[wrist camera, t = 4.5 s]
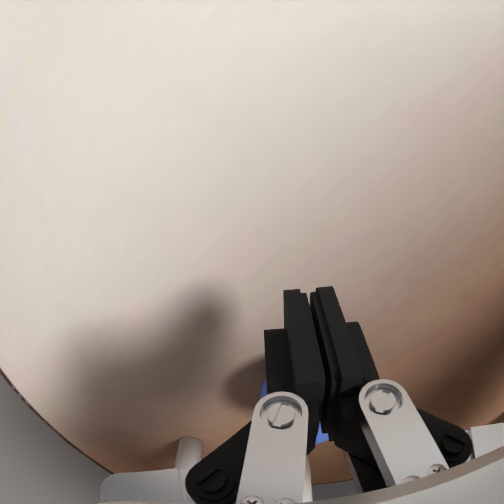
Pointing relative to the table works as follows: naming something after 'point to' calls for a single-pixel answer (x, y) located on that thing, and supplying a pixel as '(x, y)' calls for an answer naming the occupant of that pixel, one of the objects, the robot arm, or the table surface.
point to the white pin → (307, 482)
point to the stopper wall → (333, 490)
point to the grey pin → (188, 453)
